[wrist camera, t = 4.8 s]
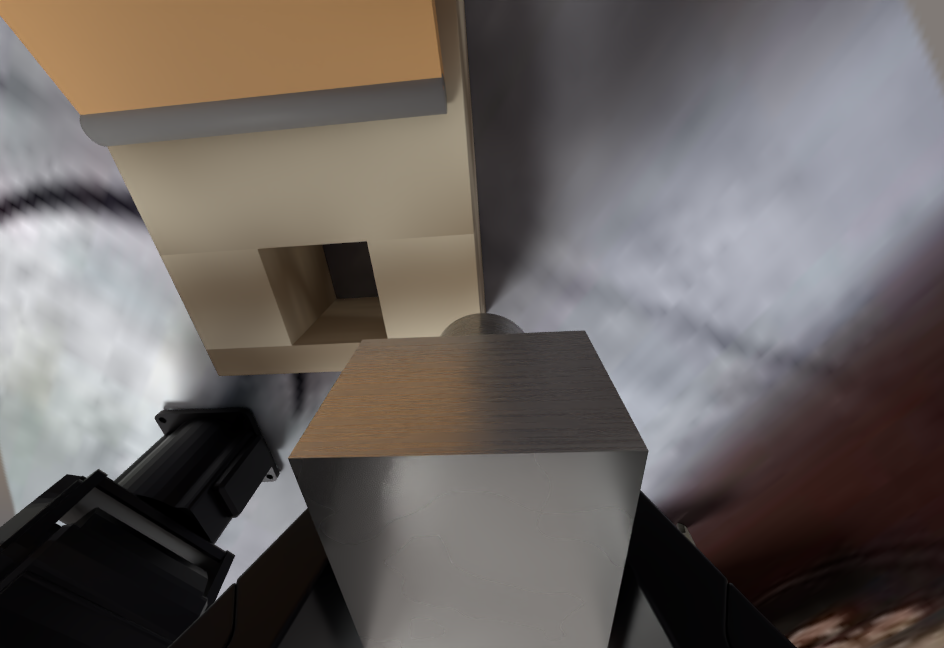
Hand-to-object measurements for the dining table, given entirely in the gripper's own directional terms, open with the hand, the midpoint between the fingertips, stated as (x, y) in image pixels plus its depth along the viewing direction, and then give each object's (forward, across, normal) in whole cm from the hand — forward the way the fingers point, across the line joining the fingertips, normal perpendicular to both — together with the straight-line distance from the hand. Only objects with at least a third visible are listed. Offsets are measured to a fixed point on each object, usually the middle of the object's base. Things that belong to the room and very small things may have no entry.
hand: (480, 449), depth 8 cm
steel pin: (+4, 0, 0) cm, 4 cm away
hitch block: (+12, +6, -6) cm, 15 cm away
